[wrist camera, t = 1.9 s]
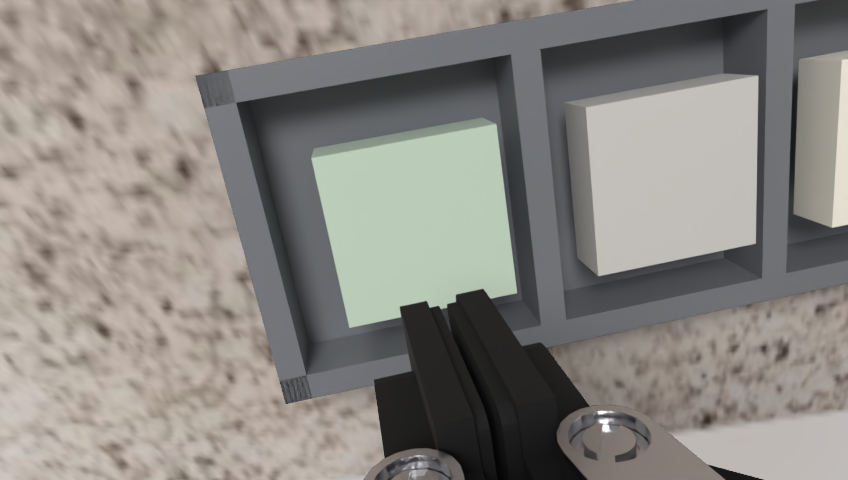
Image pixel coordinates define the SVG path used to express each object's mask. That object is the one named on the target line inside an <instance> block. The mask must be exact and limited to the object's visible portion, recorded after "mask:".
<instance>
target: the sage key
mask: <svg viewBox="0 0 848 480" xmlns="http://www.w3.org/2000/svg"><path fill="white" fill-rule="evenodd" d="M311 159H312V164H313V168H314V173H315V177H316V182H317V186H318V190H319V195H320V199H321V204H322V208H323V213H324V217H325V222H326V226H327V230H328V235H329V239H330V244H331V248H332V253H333V257H334V261H335V266H336V270H337V275H338V279H339V284H340V288H341V292H342V297H343V301H344V306H345V310H346V315H347V319H348V324H349V328H352V327H356V326H361V325H366V324H371V323H376V322H380V321H385V320H390V319H395V318H400V317H401V313H400V306H405V305H410V304H414V303H419V302H424V301H427V302H428V305H429V307H435V306H439V307H440V309H443V308H447V304H449V303H454V302H456V295H457V294H461V293H465V292H470V291H475V290H479V289H484V290H485V292H486V293H487V295H488V296H489V298H490V299H491V298H496V297H501V296H506V295H511V294H515V293H517V288H516V279H515V271H514V263H513V255H512V247H511V239H510V231H509V223H508V214H507V206H506V198H505V190H504V182H503V174H502V166H501V157H500V149H499V141H498V133H497V125H496V124H495V123H493V122H491V121H489V120H487V119H485V118H483V117H482V118H477V119H471V120H466V121H461V122H455V123H450V124H444V125H439V126H433V127H428V128H422V129H417V130H412V131H406V132H401V133H395V134H390V135H384V136H379V137H373V138H368V139H363V140H357V141H352V142H346V143H341V144H335V145H330V146H325V147H319V148H314V150H313V154H312V157H311Z"/></svg>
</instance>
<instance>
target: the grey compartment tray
mask: <svg viewBox="0 0 848 480" xmlns="http://www.w3.org/2000/svg"><path fill="white" fill-rule="evenodd" d="M847 50H848V0H634V1H628V2H622V3H616V4H610V5H604V6H599V7H593V8H587V9H581V10H575V11H570V12H564V13H558V14H552V15H546V16H541V17H535V18H529V19H523V20H517V21H512V22H506V23H500V24H494V25H488V26H482V27H477V28H471V29H465V30H459V31H453V32H448V33H442V34H436V35H430V36H424V37H419V38H413V39H407V40H401V41H395V42H390V43H384V44H378V45H372V46H366V47H360V48H355V49H349V50H343V51H337V52H331V53H326V54H320V55H314V56H308V57H302V58H297V59H291V60H285V61H279V62H273V63H267V64H262V65H256V66H250V67H244V68H238V69H233V70H227V71H221V72H215V73H210V74H204V75H198V76H196V80H197V84H198V87H199V91H200V94H201V98H202V102H203V105H204V109H205V113H206V116H207V120H208V123H209V127H210V131H211V134H212V138H213V142H214V145H215V149H216V152H217V156H218V160H219V163H220V167H221V171H222V174H223V178H224V181H225V185H226V189H227V192H228V196H229V199H230V203H231V207H232V210H233V214H234V218H235V221H236V225H237V228H238V232H239V236H240V239H241V243H242V247H243V250H244V254H245V257H246V261H247V265H248V268H249V272H250V276H251V279H252V283H253V286H254V290H255V294H256V297H257V301H258V305H259V308H260V312H261V315H262V319H263V323H264V326H265V330H266V334H267V337H268V341H269V344H270V348H271V352H272V355H273V359H274V363H275V366H276V370H277V373H278V377H279V381H280V384H281V388H282V392H283V395H284V399H285V402H286V404H288V403H293V402H297V401H302V400H307V399H311V398H316V397H321V396H325V395H330V394H334V393H339V392H344V391H348V390H353V389H358V388H362V387H367V386H372V385H374V379H379V378H383V377H387V376H392V375H396V374H401V373H405V372H410V371H412V370H411V365H410V360H409V354H408V349H407V344H406V339H405V334H404V329H403V323H402V318H401V317H400V318H395V319H390V320H385V321H380V322H376V323H371V324H366V325H361V326H356V327H352V328H349V324H348V319H347V315H346V310H345V306H344V301H343V297H342V292H341V288H340V284H339V279H338V275H337V270H336V266H335V261H334V257H333V253H332V248H331V244H330V239H329V235H328V230H327V226H326V222H325V217H324V213H323V208H322V204H321V199H320V195H319V190H318V186H317V182H316V177H315V173H314V168H313V164H312V159H311V157H312V154H313V150H314V148H319V147H325V146H330V145H335V144H341V143H346V142H352V141H357V140H363V139H368V138H373V137H379V136H384V135H390V134H395V133H401V132H406V131H412V130H417V129H422V128H428V127H433V126H439V125H444V124H450V123H455V122H461V121H466V120H471V119H477V118H482V117H483V118H485V119H487V120H489V121H491V122H493V123H495V124H496V125H497V133H498V141H499V149H500V157H501V166H502V174H503V182H504V190H505V198H506V206H507V214H508V223H509V231H510V239H511V247H512V255H513V263H514V271H515V279H516V288H517V293H515V294H511V295H506V296H501V297H496V298H491V301H492V302H493V304H494V305H495V307H496V308H497V310H498V311H499V313H500V314H501V316H502V317H503V319H504V320H505V322H506V323H507V325H508V326H509V328H510V329H511V331H512V332H513V334H514V335H515V337H516V338H517V340H518V341H519V343H520V344H521V346H525V345H529V344H534V343H538V342H541V343H542V344H543V345H544V346H545V347H546V348H548V347H553V346H557V345H562V344H567V343H571V342H576V341H581V340H585V339H590V338H595V337H599V336H604V335H609V334H613V333H618V332H622V331H627V330H632V329H636V328H641V327H646V326H650V325H655V324H660V323H664V322H669V321H674V320H678V319H683V318H687V317H692V316H697V315H701V314H706V313H711V312H715V311H720V310H725V309H729V308H734V307H739V306H743V305H748V304H753V303H757V302H762V301H766V300H771V299H776V298H780V297H785V296H790V295H794V294H799V293H804V292H808V291H813V290H818V289H822V288H827V287H831V286H836V285H841V284H845V283H848V225H843V226H839V227H834V228H831V227H828V226H826V225H823V224H820V223H817V222H814V221H812V220H809V219H806V218H803V217H801V216H798V215H795V214H793V209H794V182H795V154H796V127H797V100H798V72H799V59H803V58H809V57H814V56H820V55H825V54H830V53H836V52H841V51H847ZM722 73H724V74H741V75H758V136H757V198H756V244H752V245H747V246H742V247H737V248H732V249H728V250H723V251H718V252H713V253H708V254H704V255H699V256H694V257H689V258H684V259H679V260H675V261H670V262H665V263H660V264H655V265H651V266H646V267H641V268H636V269H631V270H626V271H622V272H617V273H612V274H607V275H602V276H597V275H596V274H595V273H594V272H593V271H592V270H591V269H589V268H588V267H587V266H586V265H585V264H584V263H583V262H581V261H580V260H579V259H578V258H577V247H576V235H575V224H574V212H573V200H572V189H571V177H570V165H569V154H568V142H567V130H566V119H565V107H564V102H569V101H575V100H580V99H586V98H591V97H597V96H602V95H607V94H613V93H618V92H624V91H629V90H635V89H640V88H645V87H651V86H656V85H662V84H667V83H673V82H678V81H684V80H689V79H694V78H700V77H705V76H711V75H716V74H722ZM441 311H442V313H443V316H444V318H445V320H446V322H447V325H448V327H449V329H450V323H449V317H448V311H447V308H443V309H441ZM450 331H451V329H450Z"/></svg>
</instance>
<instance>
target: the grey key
mask: <svg viewBox="0 0 848 480" xmlns="http://www.w3.org/2000/svg"><path fill="white" fill-rule="evenodd" d="M564 107H565V119H566V130H567V142H568V154H569V165H570V177H571V189H572V200H573V212H574V224H575V235H576V247H577V258H578V259H579V260H580V261H581V262H583V263H584V264H585V265H586V266H587V267H588V268H589V269H591V270H592V271H593V272H594V273H595V274H596V275H597V276H602V275H607V274H612V273H617V272H622V271H626V270H631V269H636V268H641V267H646V266H651V265H655V264H660V263H665V262H670V261H675V260H679V259H684V258H689V257H694V256H699V255H704V254H708V253H713V252H718V251H723V250H728V249H732V248H737V247H742V246H747V245H752V244H756V198H757V136H758V75H741V74H724V73H722V74H716V75H711V76H705V77H700V78H694V79H689V80H684V81H678V82H673V83H667V84H662V85H656V86H651V87H645V88H640V89H635V90H629V91H624V92H618V93H613V94H607V95H602V96H597V97H591V98H586V99H580V100H575V101H569V102H564Z"/></svg>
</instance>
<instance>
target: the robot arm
mask: <svg viewBox="0 0 848 480" xmlns="http://www.w3.org/2000/svg"><path fill="white" fill-rule="evenodd" d="M447 311H448V317H449V323H450V329H451V331H450V329H449V327H448V325H447V322H446V320H445V318H444V316H443V313H442V311H441V309H440V307H439V306H435V307H429V305H428V302H427V301H424V302H419V303H414V304H410V305H405V306H400V313H401V318H402V323H403V329H404V334H405V339H406V344H407V349H408V354H409V360H410V365H411V370H412V371H410V372H405V373H401V374H396V375H392V376H387V377H383V378H379V379H374V385H375V392H376V399H377V406H378V413H379V420H380V427H381V435H382V442H383V449H384V456H385V459H383V460H382V461H380V462H379V463H378V464H377V465H375V466H374V467H373V468H372V469H371V470H370V471H369V473H368V474H367V475H366V477H365V478H364V480H762V479H759V478H755V477H752V476H748V475H744V474H740V473H737V472H733V471H729V470H726V469H722V468H718V467H714V466H711V465H707V464H706V463H704V462H703V461H702V460H701V459H700V458H698V457H697V456H696V455H695V454H694V453H692V452H691V451H690V450H689V449H688V448H686V447H685V446H684V445H683V444H681V443H680V442H679V441H678V440H677V439H675V438H674V437H673V436H672V435H671V434H669V433H668V432H667V431H666V430H665V429H663V428H662V427H661V426H660V425H659V424H657V423H656V422H655V421H654V420H653V419H651V418H649V417H648V416H646V415H645V414H643V413H641V412H639V411H636V410H634V409H631V408H628V407H623V406H616V405H595V406H589V405H588V404H587V402H586V401H585V399H584V398H583V397H582V395H581V394H580V393H579V391H578V390H577V389H576V387H575V386H574V385H573V383H572V382H571V381H570V379H569V378H568V377H567V375H566V374H565V373H564V371H563V370H562V369H561V367H560V366H559V365H558V363H557V362H556V361H555V359H554V358H553V356H552V355H551V354H550V352H549V351H548V350H547V348H546V347H545V346H544V345H543V344H542V343H541V342H538V343H534V344H529V345H525V346H521V344H520V343H519V341H518V340H517V338H516V337H515V335H514V334H513V332H512V331H511V329H510V328H509V326H508V325H507V323H506V322H505V320H504V319H503V317H502V316H501V314H500V313H499V311H498V310H497V308H496V307H495V305H494V304H493V302H492V301H491V299H490V298H489V296H488V295H487V293H486V292H485V290H484V289H479V290H475V291H470V292H465V293H461V294H457V295H456V302H454V303H449V304H447Z"/></svg>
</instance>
